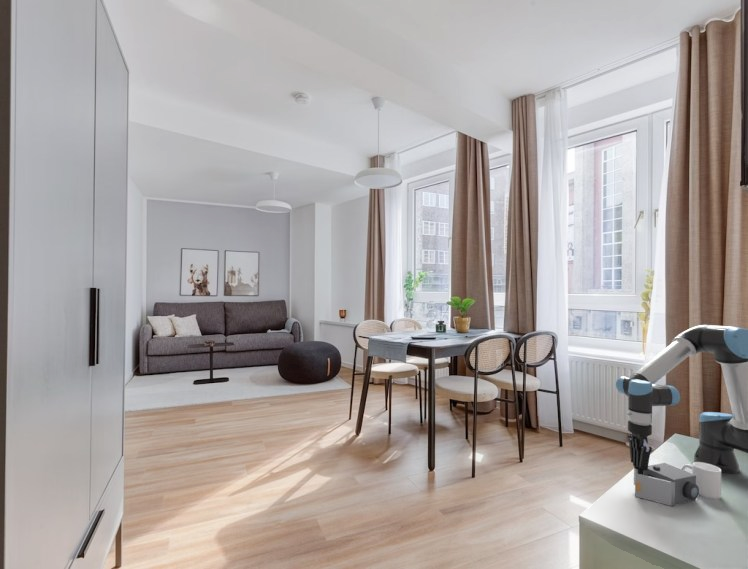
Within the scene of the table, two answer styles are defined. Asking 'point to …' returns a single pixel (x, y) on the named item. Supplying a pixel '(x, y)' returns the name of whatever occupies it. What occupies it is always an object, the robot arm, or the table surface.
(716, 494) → the cup
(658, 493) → the side door
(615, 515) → the table surface
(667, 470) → the camera body
